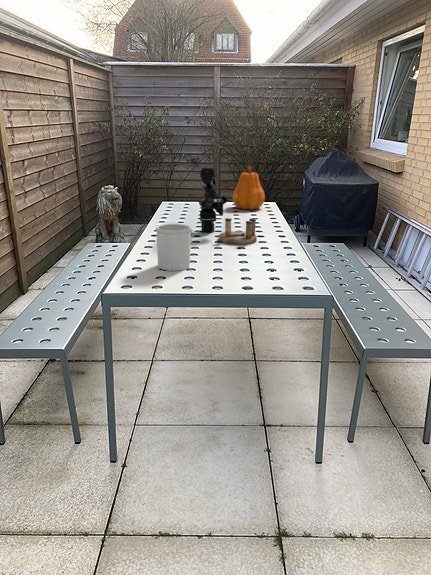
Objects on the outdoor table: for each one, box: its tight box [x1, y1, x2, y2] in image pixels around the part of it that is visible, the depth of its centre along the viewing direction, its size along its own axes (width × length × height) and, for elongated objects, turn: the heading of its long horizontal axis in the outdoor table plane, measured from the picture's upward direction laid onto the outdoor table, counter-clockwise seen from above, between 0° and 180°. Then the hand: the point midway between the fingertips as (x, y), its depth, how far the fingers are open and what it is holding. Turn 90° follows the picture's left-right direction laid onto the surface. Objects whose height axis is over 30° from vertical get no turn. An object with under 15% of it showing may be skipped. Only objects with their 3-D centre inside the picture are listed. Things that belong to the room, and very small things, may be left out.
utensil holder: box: [155, 222, 192, 272], centre depth 198 cm, size 15×15×18 cm
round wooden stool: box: [218, 218, 258, 246], centre depth 245 cm, size 20×20×11 cm
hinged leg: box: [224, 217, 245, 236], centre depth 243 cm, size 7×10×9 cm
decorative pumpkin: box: [232, 164, 266, 211], centre depth 332 cm, size 24×24×30 cm
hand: (222, 215), depth 248 cm, fingers closed
